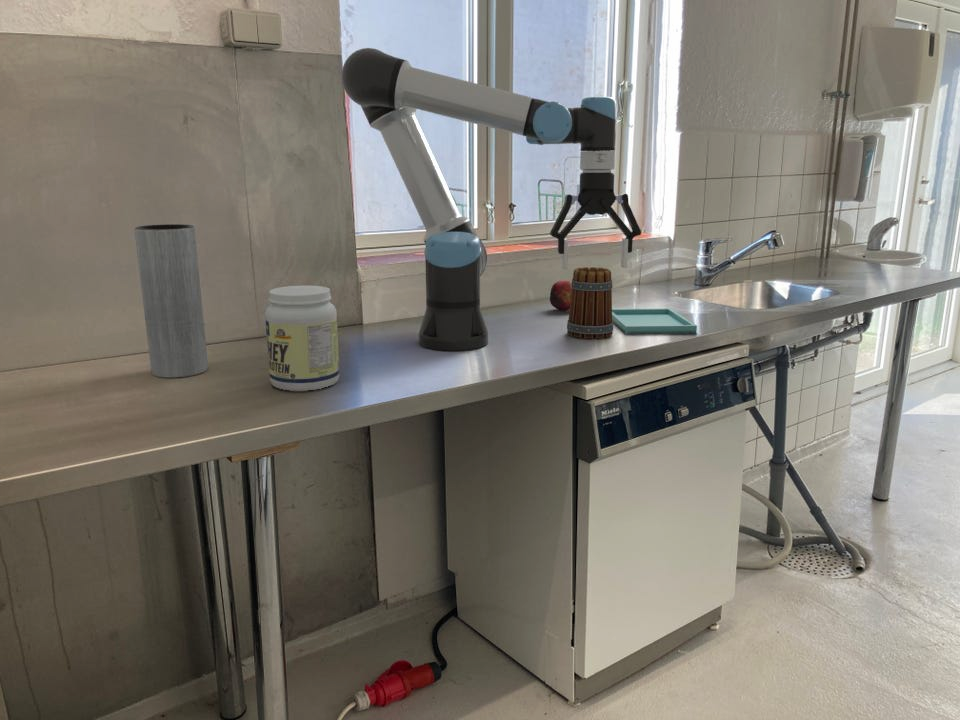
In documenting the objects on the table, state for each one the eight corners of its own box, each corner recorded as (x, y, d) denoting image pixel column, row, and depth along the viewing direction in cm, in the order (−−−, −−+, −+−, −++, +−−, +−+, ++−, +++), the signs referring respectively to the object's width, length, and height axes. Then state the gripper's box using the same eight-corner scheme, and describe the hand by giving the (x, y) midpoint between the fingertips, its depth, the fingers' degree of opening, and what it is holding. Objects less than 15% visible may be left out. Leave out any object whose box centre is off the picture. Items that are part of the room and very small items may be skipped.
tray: (625, 334, 170) (625, 326, 169) (606, 315, 190) (606, 309, 189) (696, 333, 171) (696, 325, 170) (669, 315, 191) (670, 308, 190)
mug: (612, 341, 163) (615, 273, 159) (564, 338, 165) (566, 272, 161) (614, 326, 178) (617, 264, 174) (570, 324, 180) (572, 262, 176)
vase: (148, 380, 134) (130, 229, 126) (155, 366, 143) (138, 224, 136) (206, 376, 136) (192, 228, 129) (209, 362, 146) (196, 223, 138)
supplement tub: (257, 383, 132) (249, 289, 128) (316, 370, 140) (311, 281, 136) (293, 398, 124) (286, 298, 119) (353, 383, 132) (349, 289, 128)
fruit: (583, 312, 195) (584, 282, 192) (557, 314, 192) (558, 283, 190) (569, 307, 202) (570, 277, 199) (544, 309, 199) (545, 279, 197)
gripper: (543, 172, 158) (542, 271, 164) (657, 171, 159) (653, 269, 165) (538, 172, 165) (537, 266, 171) (648, 170, 166) (644, 264, 172)
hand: (594, 268), depth 168 cm, fingers open, 13 cm apart
